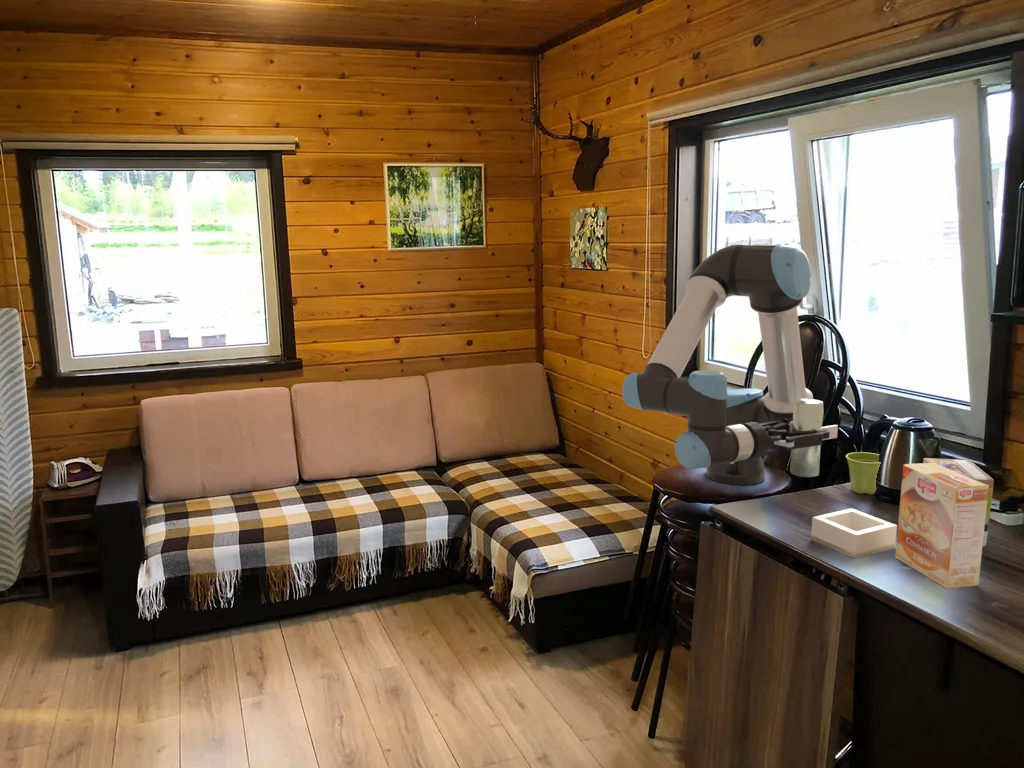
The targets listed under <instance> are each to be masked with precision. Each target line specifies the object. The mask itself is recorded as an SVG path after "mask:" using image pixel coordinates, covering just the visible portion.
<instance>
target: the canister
mask: <svg viewBox="0 0 1024 768" xmlns="http://www.w3.org/2000/svg"><path fill="white" fill-rule="evenodd" d="M823 408H824V402H823V401H822V400H819V399H814V398H813V399H797V400H794V408H793V427H792V432H794V431H811V430H813V429H814V428H820V427H823V422H822V415H823ZM823 416H824V415H823ZM821 446H822V445H818V446H811V447H805V448H798V449H794V450H791V451H790V467H789V472H790V474H791V475H793V476H794V475H795V476H796V477H802V478H803V477H804V478H813V477H817V476H819V475H820V461H821Z"/></svg>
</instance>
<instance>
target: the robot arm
mask: <svg viewBox="0 0 1024 768" xmlns="http://www.w3.org/2000/svg"><path fill="white" fill-rule="evenodd" d="M811 273H812V272H811V265H810V261H809V259H808V255H807V254H806V253H805V251H804V250H803V249H801V248H800V247H799V246H797V245H786V244H782V243H781V244H776V245H775V244H773V245H772V244H771V245H770V244H769V245H768V244H732V245H729V246H726V247H723V248H720V249H718V250H717V251H714V252H713V253H712V254H711V255H709V256H708V257H707V258H705V259H704V260H702V262H701V263H700V264H699V265H698V266H697V267H695V269H694V271H693V272H692V273H691V274H690V277H689V278H688V280H687V282H686V284H685V292H686V293H685V294H684V296H683V298H682V300H681V301H680V304H679V306H678V307H677V309H676V311H675V313H674V315H673V317H672V319H671V320H670V322H669V324H668V325H667V327H666V329H665V331H664V332H663V335H662V336H661V339H660V341H659V342H658V343H657V346H656V347H655V349H654V351H653V352H652V355H651V356H650V359H649V360H648V362H647V364H646V365H645V367H644V369H643V371H642V373H641V372H632V373H629V374H628V375H627V376H626V377H625V378H624V381H623V384H622V388H621V390H622V391H621V392H622V393H621V394H622V395H621V396H622V400H623V401H624V403H625V404H626V406H627V407H629V408H631V409H632V408H634V409H637V410H642V411H650V412H657V413H665V414H671V415H676V416H677V415H678V416H683V417H684V416H685V417H687V431H685V432H683V433H681V434H679V435H678V436H677V438H676V441H675V443H674V451H675V456H676V458H677V461H678V463H680V465H681V466H683V467H684V468H686V469H689V470H692V469H702V468H703V469H706V473H705V475H706V477H707V478H708V479H711V480H712V481H715V482H719V483H721V484H722V483H723V484H726V485H727V484H729V485H737V486H740V485H741V486H743V485H744V486H747V485H757V484H759V483H762V482H764V481H765V480H766V475H767V474H766V473H767V472H766V467H765V464H764V460H763V456H765V454H767V452H768V450H769V449H770V450H774V449H777V448H784V449H785V451H787V452H791V450H794V449H798V448H805V447H811V446H818V445H821V446H822V445H823V441H825V440H831V439H837V438H838V431H839V429H838V427H839V425H838V424H833V425H825V426H822V427H820V428H814V429H813V430H811V431H794V432H792V427H793V408H794V400H797V399H813V400H814V396H813V392H812V391H811V390H809V389H808V388H807V387H806V380H805V372H804V361H803V354H802V344H801V333H800V325H799V324H800V323H799V316H798V315H799V314H798V308H799V306H800V305H801V304H802V303H803V300H804V298H806V297H807V295H808V293H809V291H810V287H811V277H812V274H811ZM733 296H734V297H735V296H737V297H748V299H749V306H750V308H751V309H752V310H753V311H755V312H756V313H757V314H758V321H759V329H760V338H761V345H762V351H763V359H764V366H765V368H764V369H765V373H766V374H765V375H766V381H767V388H768V391H767V392H766V393H765V395H764V392H763V390H762V389H758V388H752V387H751V388H735V389H730V390H728V379H727V375H726V374H725V373H723V372H721V371H718V370H706V369H703V370H694V371H692V372H691V373H690V374H689V376H688V378H681V376H682V375H683V372H684V371H685V368H686V366H687V364H688V362H689V361H690V360H691V357H692V355H693V354H694V351H695V350H696V347H697V346H698V344H699V343H700V342H699V341H700V340H701V338H702V337H703V336H702V335H703V334H704V333H705V330H706V328H707V326H708V325H709V322H710V320H712V317H713V315H714V313H715V311H716V309H717V308H719V307H721V306H723V305H724V303H725V302H726V300H727V298H728V297H733ZM824 411H825V409H824V407H823V415H822V423H823V420H824Z"/></svg>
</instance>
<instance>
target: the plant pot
mask: <svg viewBox="0 0 1024 768" xmlns="http://www.w3.org/2000/svg"><path fill="white" fill-rule="evenodd" d="M879 455H880V454H878V453H873V452H864V451H860V452H857V451H855V452H850V453H847V454H846V455H845V459H847V464H848V468H849V469H848V470H849V480H850V488H851V491H853V492H854V493H857V494H868V495H874V493H875V491H876V478H877V473H878V470H879V467H880V464H881V462H879ZM875 494H876V493H875Z"/></svg>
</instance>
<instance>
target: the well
mask: <svg viewBox="0 0 1024 768" xmlns="http://www.w3.org/2000/svg"><path fill="white" fill-rule="evenodd" d="M811 518H812V519H811V533H810V534H811V535H810V540H811V541H813V542H816V543H817V544H818V543H819V544H820V545H823V546H825V547H828V549H829V548H830V549H832V550H834V551H836V552H838V553H840V554H843V555H846V556H848V557H850V558H852V559H861V558H863V557H867V556H872V555H874V554H879V553H883V552H886V551H891V550H894V549H896V544H897V532H898V524H896V523H893V522H889V521H887V520H884V519H881V518H879V517H875V516H873V515H870V514H868V513H867V512H866V513H865V512H862V511H860V510H858V509H855V508H852V507H851V508H846V509H842V510H838V511H833V512H829V513H825V514H820V515H817V516H812V517H811Z"/></svg>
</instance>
